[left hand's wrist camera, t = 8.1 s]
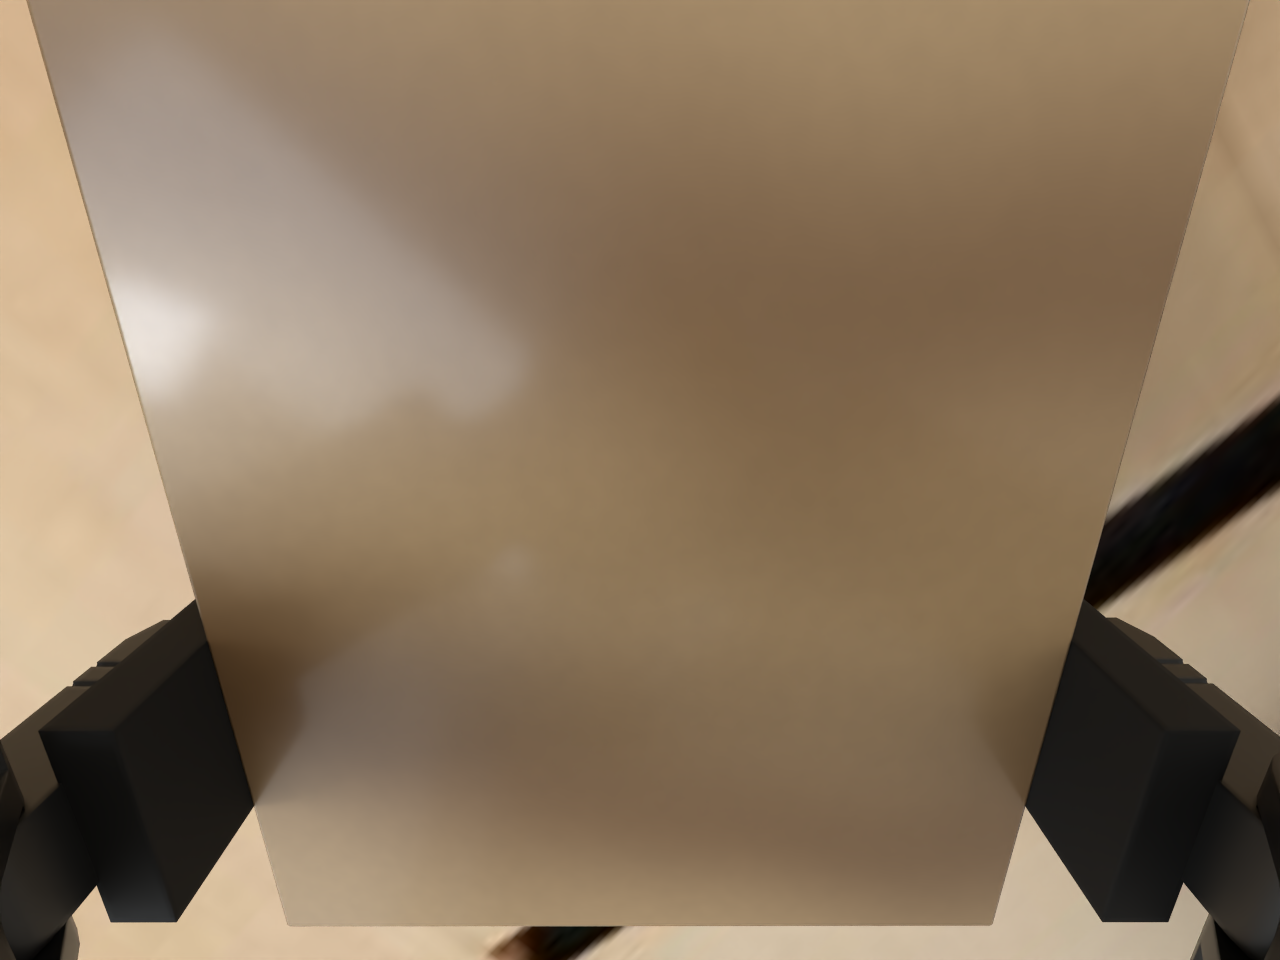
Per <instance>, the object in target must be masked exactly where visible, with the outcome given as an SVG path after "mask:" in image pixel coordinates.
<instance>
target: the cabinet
mask: <svg viewBox="0 0 1280 960" xmlns="http://www.w3.org/2000/svg"><path fill="white" fill-rule="evenodd" d="M26 1H27V4H28V8H29V11H30V15H31V18H32V22H33V25H34V29H35V32H36V36H37V39H38V43H39V47H40V50H41V54H42V57H43V61H44V64H45V68H46V71H47V75H48V78H49V82H50V86H51V89H52V93H53V96H54V100H55V103H56V107H57V110H58V114H59V117H60V121H61V124H62V128H63V132H64V135H65V139H66V142H67V146H68V149H69V153H70V156H71V160H72V163H73V167H74V170H75V174H76V178H77V181H78V185H79V188H80V192H81V195H82V199H83V202H84V206H85V209H86V213H87V216H88V220H89V224H90V227H91V231H92V234H93V238H94V241H95V245H96V248H97V252H98V255H99V259H100V263H101V266H102V270H103V273H104V277H105V280H106V284H107V287H108V291H109V294H110V298H111V301H112V305H113V309H114V312H115V316H116V319H117V323H118V326H119V330H120V333H121V337H122V340H123V344H124V347H125V351H126V355H127V358H128V362H129V365H130V369H131V372H132V376H133V379H134V383H135V386H136V390H137V394H138V397H139V401H140V404H141V408H142V411H143V415H144V418H145V422H146V425H147V429H148V432H149V436H150V440H151V443H152V447H153V450H154V454H155V457H156V461H157V464H158V468H159V471H160V475H161V478H162V482H163V486H164V489H165V493H166V496H167V500H168V503H169V507H170V510H171V514H172V517H173V521H174V524H175V528H176V532H177V535H178V539H179V542H180V546H181V549H182V553H183V556H184V560H185V563H186V567H187V571H188V574H189V578H190V581H191V585H192V588H193V592H194V595H195V599H196V602H197V606H198V609H199V613H200V617H201V620H202V624H203V627H204V631H205V634H206V638H207V641H208V645H209V648H210V652H211V655H212V659H213V663H214V666H215V670H216V673H217V677H218V680H219V684H220V687H221V691H222V694H223V698H224V701H225V705H226V709H227V712H228V716H229V719H230V723H231V726H232V730H233V733H234V737H235V740H236V744H237V748H238V751H239V755H240V758H241V762H242V765H243V769H244V772H245V776H246V779H247V783H248V786H249V790H250V794H251V797H252V801H253V804H254V808H255V811H256V815H257V818H258V822H259V825H260V829H261V832H262V836H263V840H264V843H265V847H266V850H267V854H268V857H269V861H270V864H271V868H272V871H273V875H274V879H275V882H276V886H277V889H278V893H279V896H280V900H281V903H282V907H283V910H284V914H285V917H286V921H287V924H288V925H289V926H990V925H992V924H993V920H994V916H995V913H996V909H997V906H998V902H999V898H1000V895H1001V891H1002V888H1003V884H1004V881H1005V877H1006V873H1007V870H1008V866H1009V863H1010V859H1011V855H1012V852H1013V848H1014V845H1015V841H1016V837H1017V834H1018V830H1019V827H1020V823H1021V820H1022V816H1023V812H1024V809H1025V805H1026V802H1027V798H1028V794H1029V791H1030V787H1031V784H1032V780H1033V777H1034V773H1035V769H1036V766H1037V762H1038V759H1039V755H1040V751H1041V748H1042V744H1043V741H1044V737H1045V733H1046V730H1047V726H1048V723H1049V719H1050V716H1051V712H1052V708H1053V705H1054V701H1055V698H1056V694H1057V690H1058V687H1059V683H1060V680H1061V676H1062V673H1063V669H1064V665H1065V662H1066V658H1067V655H1068V651H1069V647H1070V644H1071V640H1072V637H1073V633H1074V629H1075V626H1076V622H1077V619H1078V615H1079V612H1080V608H1081V604H1082V601H1083V597H1084V594H1085V590H1086V586H1087V583H1088V579H1089V576H1090V572H1091V569H1092V565H1093V561H1094V558H1095V554H1096V551H1097V547H1098V543H1099V540H1100V536H1101V533H1102V529H1103V525H1104V522H1105V518H1106V515H1107V511H1108V508H1109V504H1110V500H1111V497H1112V493H1113V490H1114V486H1115V482H1116V479H1117V475H1118V472H1119V468H1120V464H1121V461H1122V457H1123V454H1124V450H1125V447H1126V443H1127V439H1128V436H1129V432H1130V429H1131V425H1132V421H1133V418H1134V414H1135V411H1136V407H1137V404H1138V400H1139V396H1140V393H1141V389H1142V386H1143V382H1144V378H1145V375H1146V371H1147V368H1148V364H1149V360H1150V357H1151V353H1152V350H1153V346H1154V343H1155V339H1156V335H1157V332H1158V328H1159V325H1160V321H1161V317H1162V314H1163V310H1164V307H1165V303H1166V300H1167V296H1168V292H1169V289H1170V285H1171V282H1172V278H1173V274H1174V271H1175V267H1176V264H1177V260H1178V256H1179V253H1180V249H1181V246H1182V242H1183V239H1184V235H1185V231H1186V228H1187V224H1188V221H1189V217H1190V213H1191V210H1192V206H1193V203H1194V199H1195V195H1196V192H1197V188H1198V185H1199V181H1200V178H1201V174H1202V170H1203V167H1204V163H1205V160H1206V156H1207V152H1208V149H1209V145H1210V142H1211V138H1212V135H1213V131H1214V127H1215V124H1216V120H1217V117H1218V113H1219V109H1220V106H1221V102H1222V99H1223V95H1224V91H1225V88H1226V84H1227V81H1228V77H1229V74H1230V70H1231V66H1232V63H1233V59H1234V56H1235V52H1236V48H1237V45H1238V41H1239V38H1240V34H1241V31H1242V27H1243V23H1244V20H1245V16H1246V13H1247V9H1248V5H1249V2H1250V0H26Z"/></svg>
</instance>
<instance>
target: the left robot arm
mask: <svg viewBox="0 0 1280 960" xmlns="http://www.w3.org/2000/svg"><path fill="white" fill-rule="evenodd" d="M1025 806H1026V808H1027V809H1028V811H1029V812H1030V814H1031V815H1032V817H1033V818H1034V820H1035V821H1036V823H1037V824H1038V826H1039V827H1040V829H1041V830H1042V832H1043V833H1044V835H1045V836H1046V838H1047V839H1048V841H1049V842H1050V844H1051V845H1052V847H1053V848H1054V850H1055V851H1056V853H1057V854H1058V856H1059V857H1060V859H1061V860H1062V862H1063V863H1064V865H1065V866H1066V868H1067V869H1068V871H1069V872H1070V874H1071V875H1072V877H1073V878H1074V880H1075V881H1076V883H1077V884H1078V886H1079V887H1080V889H1081V890H1082V892H1083V893H1084V895H1085V896H1086V898H1087V899H1088V901H1089V902H1090V904H1091V905H1092V907H1093V909H1094V910H1095V912H1096V913H1097V915H1098V916H1099V918H1100V919H1101V921H1102V922H1168V921H1169V919H1170V916H1171V913H1172V911H1173V908H1174V906H1175V903H1176V900H1177V898H1178V895H1179V892H1180V890H1181V887H1182V885H1183V882H1184V884H1185V885H1186V886H1187V887H1188V888H1189V890H1190V891H1191V892H1192V893H1193V894H1194V896H1195V897H1196V898H1197V899H1198V900H1199V902H1200V903H1201V904H1202V905H1203V907H1204V908H1205V909H1206V910H1207V911H1208V913H1209V915H1208V917H1207V920H1206V922H1205V925H1204V927H1203V930H1202V932H1201V935H1200V937H1199V940H1198V942H1197V944H1196V947H1195V949H1194V952H1193V954H1192V957H1191V959H1190V960H1280V737H1279V736H1278V735H1277V734H1276V733H1274V732H1273V731H1272V730H1271V729H1269V728H1268V727H1267V726H1266V725H1264V724H1263V723H1262V722H1261V721H1259V720H1258V719H1257V718H1255V717H1254V716H1253V715H1252V714H1250V713H1249V712H1248V711H1247V710H1245V709H1244V708H1243V707H1242V706H1240V705H1239V704H1238V703H1237V702H1235V701H1234V700H1233V699H1232V698H1230V697H1229V696H1228V695H1227V694H1225V693H1224V692H1223V691H1222V690H1220V689H1219V688H1218V687H1217V686H1215V685H1214V684H1208V683H1207V679H1206V678H1205V677H1204V676H1203V675H1201V674H1200V673H1199V672H1198V671H1196V670H1195V669H1194V668H1193V667H1191V666H1190V665H1189V664H1183V659H1181V658H1180V657H1179V656H1178V655H1176V654H1175V653H1174V652H1173V651H1171V650H1170V649H1169V648H1168V647H1166V646H1165V645H1164V644H1162V643H1161V642H1160V641H1159V640H1157V639H1156V638H1155V637H1153V636H1151V635H1149V634H1148V633H1146V632H1144V631H1142V630H1140V629H1138V628H1136V627H1134V626H1132V625H1130V624H1128V623H1126V622H1124V621H1122V620H1120V619H1118V618H1106V617H1105V616H1103V615H1102V614H1101V613H1100V612H1099V611H1097V610H1096V609H1095V608H1094V607H1093V606H1091V605H1090V604H1089V603H1088V602H1087V601H1085V600H1084V599H1083V601H1082V604H1081V608H1080V612H1079V615H1078V619H1077V622H1076V626H1075V629H1074V633H1073V637H1072V640H1071V644H1070V647H1069V651H1068V655H1067V658H1066V662H1065V665H1064V669H1063V673H1062V676H1061V680H1060V683H1059V687H1058V690H1057V694H1056V698H1055V701H1054V705H1053V708H1052V712H1051V716H1050V719H1049V723H1048V726H1047V730H1046V733H1045V737H1044V741H1043V744H1042V748H1041V751H1040V755H1039V759H1038V762H1037V766H1036V769H1035V773H1034V777H1033V780H1032V784H1031V787H1030V791H1029V794H1028V798H1027V802H1026V805H1025ZM253 807H254V804H253V801H252V797H251V794H250V790H249V786H248V783H247V779H246V776H245V772H244V769H243V765H242V762H241V758H240V755H239V751H238V748H237V744H236V740H235V737H234V733H233V730H232V726H231V723H230V719H229V716H228V712H227V709H226V705H225V701H224V698H223V694H222V691H221V687H220V684H219V680H218V677H217V673H216V670H215V666H214V663H213V659H212V655H211V652H210V648H209V645H208V641H207V638H206V634H205V631H204V627H203V624H202V620H201V617H200V613H199V609H198V606H197V602H196V599H195V600H194V601H193V602H191V603H190V604H189V605H188V606H187V607H185V608H184V609H183V610H182V611H181V612H179V613H178V614H177V615H176V616H175V617H173V618H172V619H171V620H163V621H161V622H159V623H157V624H155V625H153V626H151V627H149V628H147V629H145V630H143V631H141V632H139V633H137V634H135V635H133V636H131V637H129V638H128V639H126V640H124V641H123V642H122V643H121V644H119V645H118V646H117V647H116V648H114V649H113V650H112V651H111V652H109V653H108V654H107V655H106V656H104V657H103V658H102V659H101V660H99V661H98V662H97V666H96V667H91V668H89V669H88V670H87V671H86V672H84V673H83V674H82V675H81V676H79V677H78V678H77V679H76V680H74V681H73V686H67V687H66V688H64V689H63V690H62V691H61V692H59V693H58V694H57V695H56V696H54V697H53V698H52V699H51V700H49V701H48V702H47V703H46V704H44V705H43V706H42V707H41V708H39V709H38V710H37V711H36V712H34V713H33V714H32V715H31V716H29V717H28V718H27V719H26V720H24V721H23V722H22V723H21V724H20V725H18V726H17V727H16V728H15V729H13V730H12V731H11V732H10V733H8V734H7V735H6V736H5V737H3V738H2V739H1V740H0V960H78V953H79V946H80V942H79V937H78V931H77V927H76V925H75V922H74V920H73V917H72V914H73V913H74V912H75V911H76V910H77V908H78V907H79V906H80V905H81V904H82V902H83V901H84V900H85V899H86V897H87V896H88V895H89V894H90V893H91V891H92V890H93V889H94V888H95V887H96V885H97V887H98V890H99V893H100V895H101V898H102V900H103V903H104V906H105V908H106V911H107V914H108V916H109V919H110V921H111V922H177V921H178V919H179V918H180V916H181V915H182V913H183V912H184V910H185V909H186V907H187V906H188V904H189V903H190V901H191V900H192V898H193V897H194V895H195V894H196V892H197V891H198V889H199V888H200V886H201V885H202V883H203V882H204V880H205V879H206V877H207V876H208V874H209V873H210V871H211V870H212V868H213V867H214V865H215V864H216V862H217V861H218V859H219V858H220V856H221V855H222V853H223V852H224V850H225V849H226V847H227V846H228V844H229V843H230V841H231V840H232V838H233V837H234V835H235V834H236V832H237V831H238V829H239V828H240V826H241V825H242V823H243V822H244V820H245V819H246V817H247V816H248V814H249V813H250V811H251V810H252V808H253Z"/></svg>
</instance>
